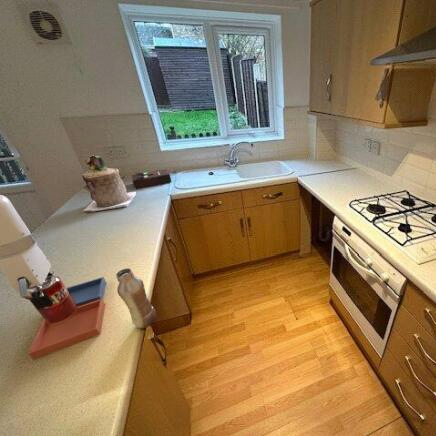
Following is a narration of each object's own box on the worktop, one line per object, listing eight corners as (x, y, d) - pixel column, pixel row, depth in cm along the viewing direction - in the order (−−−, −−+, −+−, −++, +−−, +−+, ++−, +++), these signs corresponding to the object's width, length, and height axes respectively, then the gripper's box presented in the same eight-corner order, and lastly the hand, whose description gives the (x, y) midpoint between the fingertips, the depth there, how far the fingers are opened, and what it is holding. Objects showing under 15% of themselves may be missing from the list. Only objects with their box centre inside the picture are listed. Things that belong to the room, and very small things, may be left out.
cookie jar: (137, 193, 171) (121, 148, 156) (129, 207, 151) (109, 156, 135) (98, 198, 165) (76, 152, 149) (83, 214, 144) (56, 161, 129)
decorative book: (172, 173, 186) (128, 181, 173) (175, 182, 190) (131, 190, 176) (169, 167, 201) (128, 174, 187) (171, 176, 205) (131, 183, 191)
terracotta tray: (33, 359, 65) (27, 353, 64) (47, 323, 75) (43, 318, 74) (100, 334, 71) (96, 328, 70) (105, 304, 82) (102, 298, 80)
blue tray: (53, 318, 77) (49, 312, 76) (62, 295, 86) (58, 290, 84) (102, 301, 83) (99, 296, 81) (106, 281, 91) (103, 276, 90)
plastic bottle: (133, 334, 71) (106, 284, 61) (136, 317, 76) (112, 268, 67) (157, 326, 73) (135, 277, 63) (158, 310, 79) (138, 262, 69)
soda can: (40, 320, 68) (16, 290, 63) (68, 301, 74) (49, 272, 69) (56, 327, 66) (32, 296, 60) (84, 307, 72) (65, 277, 66)
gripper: (7, 233, 63) (42, 282, 72) (-29, 270, 50) (20, 326, 59) (44, 225, 67) (74, 273, 75) (19, 258, 53) (59, 313, 62)
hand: (50, 296), depth 67 cm, fingers closed on soda can, 7 cm apart
